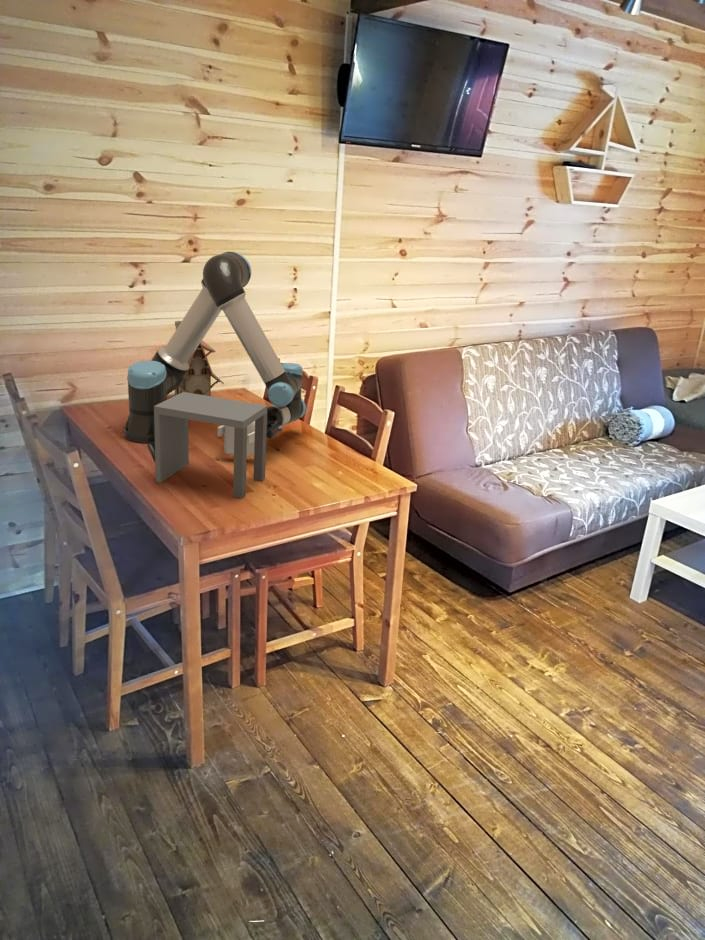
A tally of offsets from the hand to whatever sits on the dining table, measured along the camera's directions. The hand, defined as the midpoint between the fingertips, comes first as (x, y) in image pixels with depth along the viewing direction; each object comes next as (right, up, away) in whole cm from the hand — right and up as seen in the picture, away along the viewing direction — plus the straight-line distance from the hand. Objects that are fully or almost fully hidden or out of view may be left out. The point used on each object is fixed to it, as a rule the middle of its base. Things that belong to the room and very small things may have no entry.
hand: (233, 435), depth 213 cm
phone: (-23, -5, +9) cm, 25 cm away
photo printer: (+1, -5, +6) cm, 8 cm away
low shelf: (-5, -13, -8) cm, 16 cm away
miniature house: (-23, +12, +51) cm, 58 cm away
